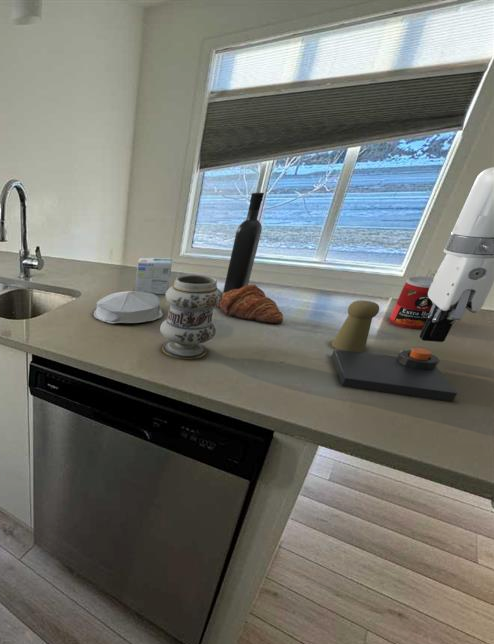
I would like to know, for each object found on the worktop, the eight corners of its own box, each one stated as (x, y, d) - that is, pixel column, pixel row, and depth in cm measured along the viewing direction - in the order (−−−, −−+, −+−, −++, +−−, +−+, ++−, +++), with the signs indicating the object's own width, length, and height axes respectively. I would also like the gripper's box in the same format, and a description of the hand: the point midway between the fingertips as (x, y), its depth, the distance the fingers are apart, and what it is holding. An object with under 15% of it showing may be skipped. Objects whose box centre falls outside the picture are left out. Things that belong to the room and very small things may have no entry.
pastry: (276, 306, 119) (284, 280, 115) (282, 325, 108) (291, 296, 104) (212, 302, 127) (218, 276, 123) (211, 319, 115) (217, 292, 111)
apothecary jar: (190, 337, 106) (203, 269, 97) (221, 357, 96) (240, 282, 87) (148, 344, 105) (157, 275, 96) (174, 364, 94) (188, 289, 85)
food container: (155, 330, 112) (159, 306, 109) (85, 322, 121) (86, 300, 118) (167, 306, 127) (170, 285, 123) (103, 300, 136) (105, 280, 132)
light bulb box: (168, 288, 141) (173, 257, 135) (167, 295, 135) (172, 262, 130) (136, 287, 145) (139, 257, 139) (133, 293, 140) (137, 261, 134)
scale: (426, 367, 85) (434, 352, 83) (452, 401, 74) (462, 385, 72) (330, 356, 92) (336, 342, 90) (341, 386, 81) (348, 370, 80)
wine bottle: (221, 295, 131) (243, 194, 116) (228, 290, 134) (250, 191, 119) (240, 298, 128) (265, 194, 113) (246, 293, 131) (272, 191, 116)
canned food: (390, 326, 102) (409, 283, 97) (386, 315, 108) (404, 275, 102) (432, 331, 98) (455, 287, 93) (426, 320, 104) (447, 277, 98)
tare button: (425, 355, 83) (429, 349, 82) (430, 361, 81) (433, 354, 80) (407, 354, 84) (410, 347, 83) (411, 359, 82) (414, 352, 81)
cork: (329, 340, 99) (345, 296, 93) (360, 343, 96) (379, 298, 91) (334, 350, 94) (352, 305, 88) (368, 353, 92) (388, 307, 86)
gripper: (531, 255, 64) (473, 358, 73) (489, 235, 75) (443, 327, 84) (464, 254, 67) (416, 353, 76) (433, 236, 78) (395, 324, 87)
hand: (431, 339), depth 80 cm, fingers closed
